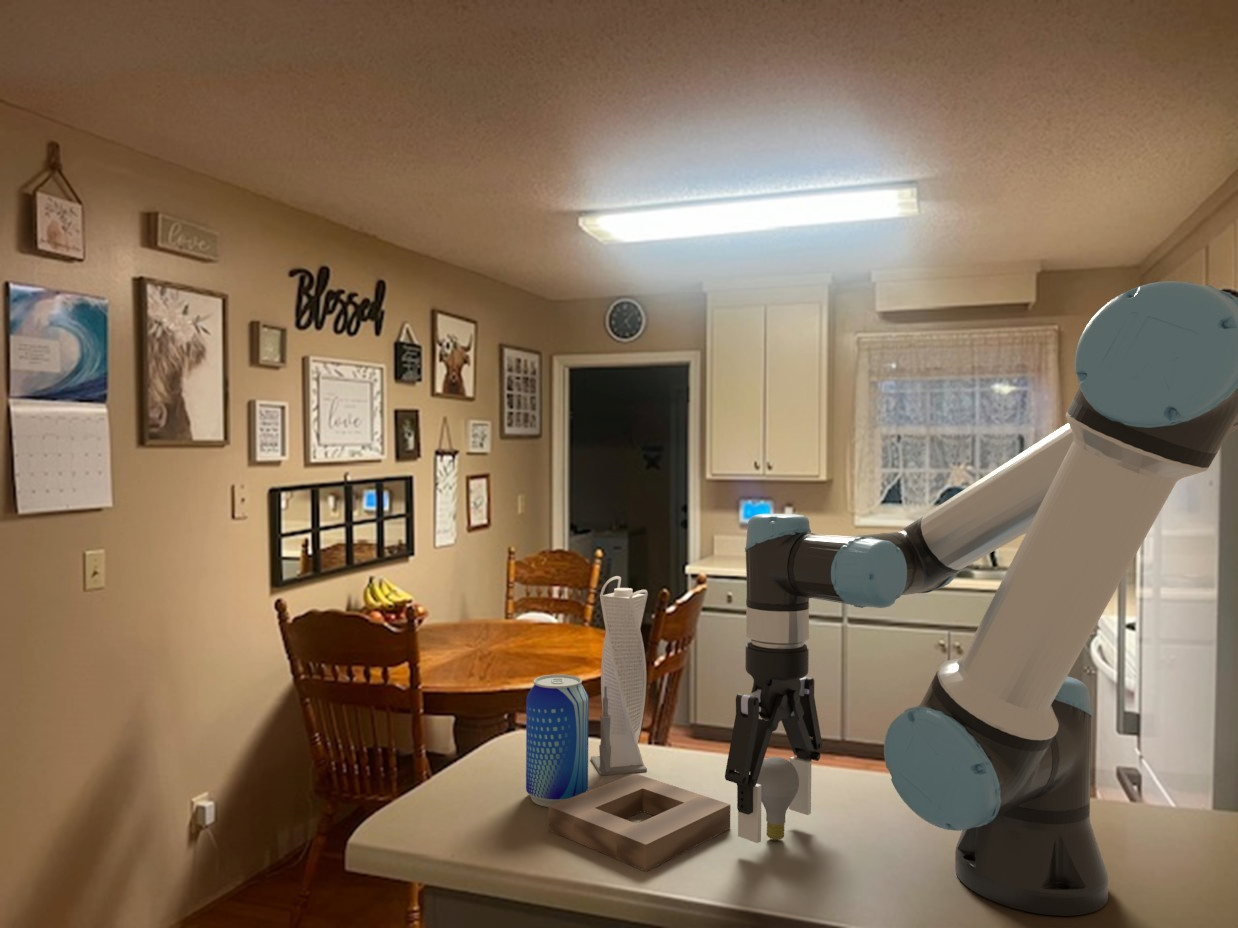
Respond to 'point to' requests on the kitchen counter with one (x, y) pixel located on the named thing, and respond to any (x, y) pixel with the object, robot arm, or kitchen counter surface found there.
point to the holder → (648, 842)
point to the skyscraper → (622, 681)
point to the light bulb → (777, 792)
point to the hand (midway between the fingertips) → (775, 824)
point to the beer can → (556, 739)
